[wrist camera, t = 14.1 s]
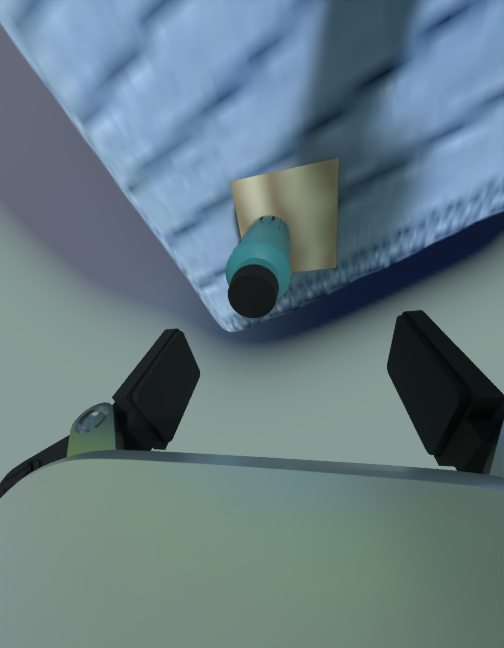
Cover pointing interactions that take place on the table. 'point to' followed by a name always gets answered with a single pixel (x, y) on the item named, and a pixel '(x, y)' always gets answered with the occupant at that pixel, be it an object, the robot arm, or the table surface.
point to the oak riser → (296, 209)
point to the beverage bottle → (259, 267)
